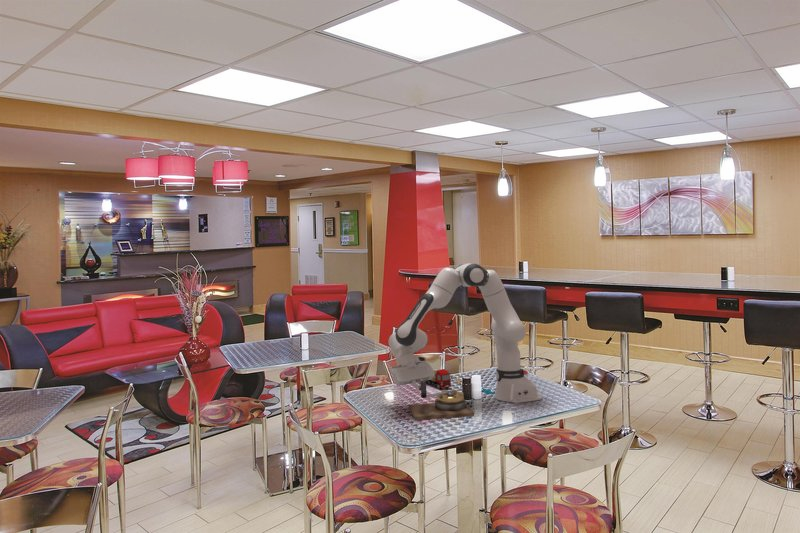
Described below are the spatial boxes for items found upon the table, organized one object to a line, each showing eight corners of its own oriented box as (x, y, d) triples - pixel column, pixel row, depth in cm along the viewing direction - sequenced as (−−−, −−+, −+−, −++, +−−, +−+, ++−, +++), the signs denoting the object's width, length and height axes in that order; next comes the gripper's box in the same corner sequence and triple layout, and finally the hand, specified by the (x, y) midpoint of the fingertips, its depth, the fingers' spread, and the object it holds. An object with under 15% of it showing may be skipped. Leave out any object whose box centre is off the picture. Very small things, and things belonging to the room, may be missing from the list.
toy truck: (442, 391, 270) (441, 372, 269) (420, 383, 287) (419, 365, 287) (452, 389, 273) (452, 370, 273) (430, 381, 291) (430, 363, 290)
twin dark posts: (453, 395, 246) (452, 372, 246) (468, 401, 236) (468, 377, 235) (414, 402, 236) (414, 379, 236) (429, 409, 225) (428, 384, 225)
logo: (450, 379, 291) (466, 376, 295) (450, 381, 291) (466, 378, 295) (485, 394, 260) (502, 390, 264) (485, 396, 260) (502, 393, 264)
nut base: (463, 404, 246) (463, 395, 246) (474, 415, 228) (474, 406, 228) (408, 407, 243) (408, 399, 243) (415, 420, 225) (414, 410, 225)
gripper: (391, 363, 233) (404, 389, 225) (428, 357, 244) (441, 382, 236) (386, 371, 236) (398, 397, 229) (423, 364, 248) (436, 389, 240)
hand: (420, 389), depth 232 cm, fingers closed, pressing on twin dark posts
